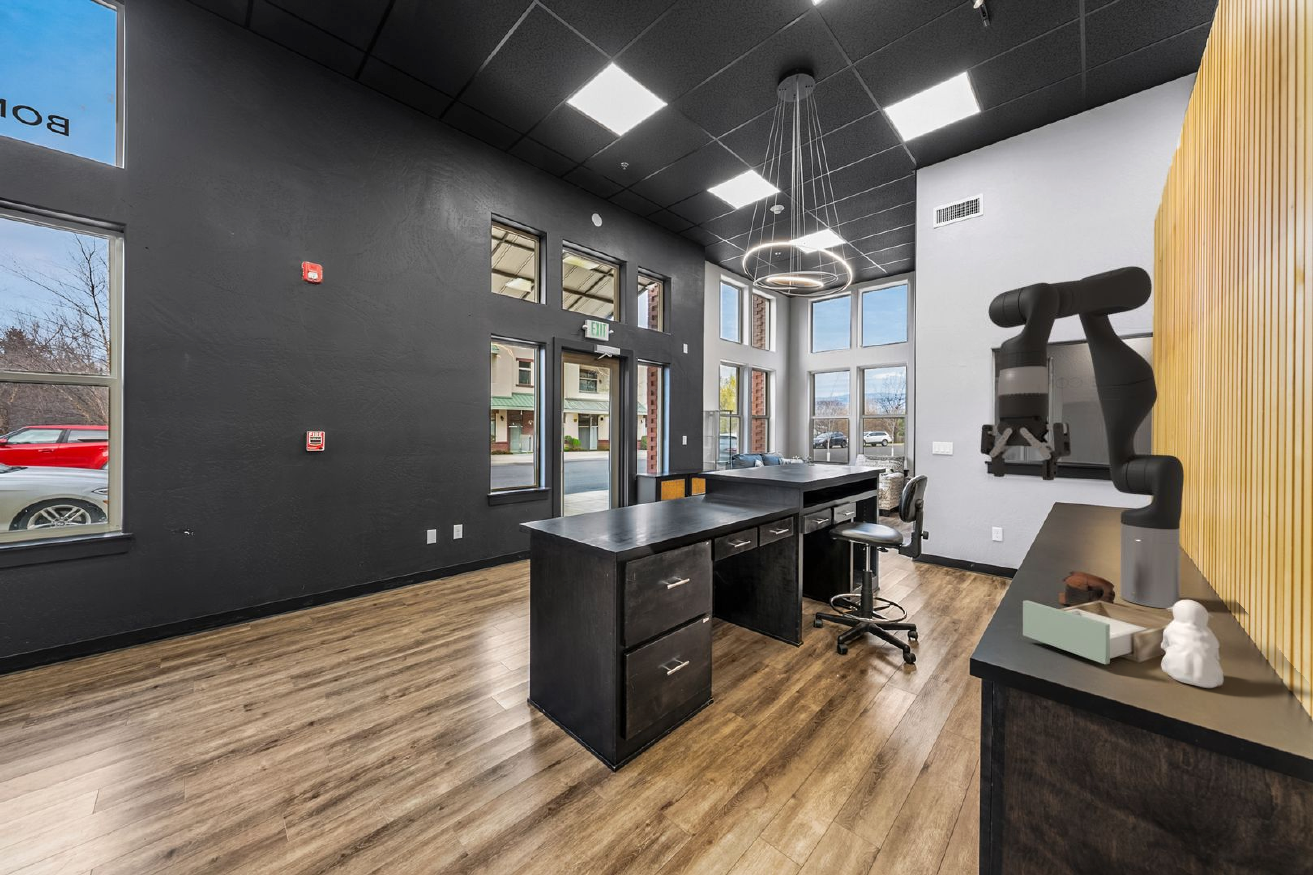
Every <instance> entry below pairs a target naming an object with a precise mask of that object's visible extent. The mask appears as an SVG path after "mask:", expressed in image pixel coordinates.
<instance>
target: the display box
mask: <svg viewBox="0 0 1313 875" xmlns="http://www.w3.org/2000/svg"><path fill="white" fill-rule="evenodd" d="M1058 609H1059V610H1062V611H1068V610H1073V609H1079V610H1083V611H1087V612H1090V613H1094V614H1097V615H1101V616H1104V617H1108V618H1111V619H1115V620H1119V621H1122V622H1126V623H1129V624H1133V625H1136V626H1140V627H1143V628H1147V631H1143V632H1140V633H1136V634H1134V651H1133V652H1130V653H1127V654H1123V655H1120V656H1119V657H1121V658H1124V659H1126V660H1129V661H1132V662H1136V663H1138V664H1139V663H1142V662H1146V661H1148V660H1152V659H1154V658H1157V657H1160V656H1162V655H1165V654H1166V651H1165V650H1164V649H1163V648H1161V643H1162V642H1163V633H1164V629H1165V628H1166V627H1167V626H1168V625H1169V624H1170V623H1171V622H1172V621H1173V620H1174V618H1173V619H1172V618H1168V617H1165V616H1160V615H1157V614H1153V613H1149V612H1145V611H1142V610H1137V609H1134V608H1130V607H1126V606H1122V605H1120V604H1119V605H1118V604H1115V603H1113V604H1111V603H1107V602H1103V601H1095V602H1090V603H1086V604H1081V605H1077V606H1069V607H1068V606H1067V607H1064V608H1058Z"/></svg>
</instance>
